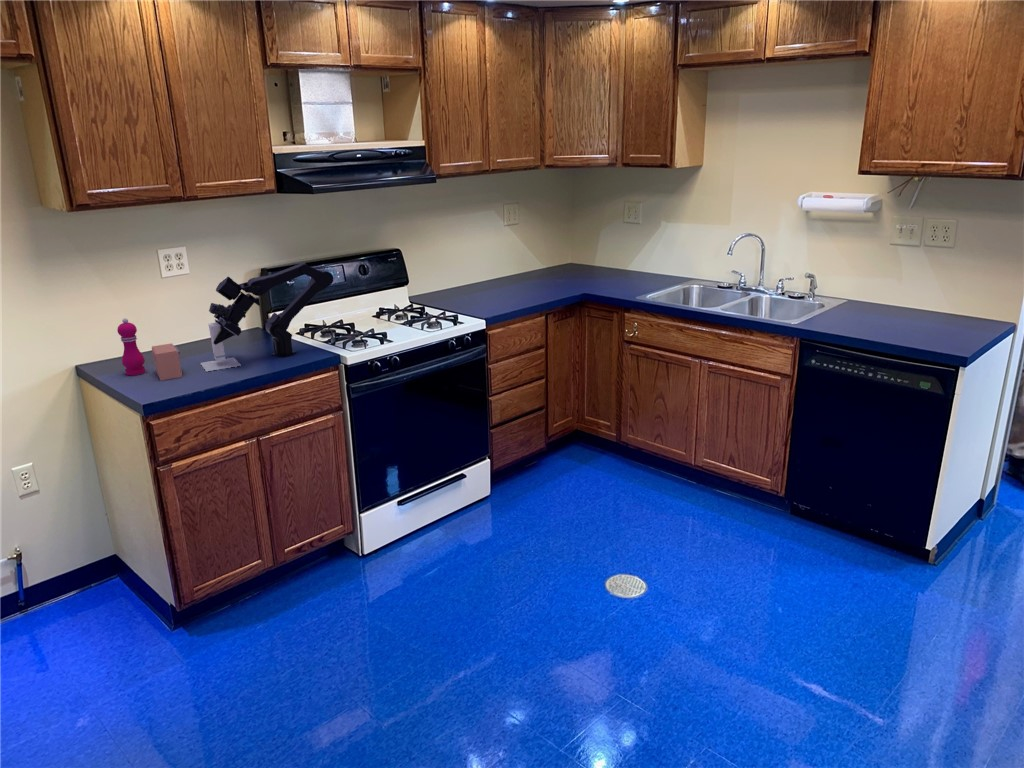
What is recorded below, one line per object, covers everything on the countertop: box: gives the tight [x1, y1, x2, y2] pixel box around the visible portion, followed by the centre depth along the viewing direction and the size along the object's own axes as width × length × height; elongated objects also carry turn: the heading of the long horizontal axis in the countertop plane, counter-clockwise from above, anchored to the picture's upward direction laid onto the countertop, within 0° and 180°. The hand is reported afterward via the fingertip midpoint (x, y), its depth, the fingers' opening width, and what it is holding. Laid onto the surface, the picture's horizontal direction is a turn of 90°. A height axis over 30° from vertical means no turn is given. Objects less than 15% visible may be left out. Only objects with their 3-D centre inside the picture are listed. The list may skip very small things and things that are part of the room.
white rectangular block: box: [208, 322, 227, 361], centre depth 265 cm, size 3×5×13 cm, turn 32°
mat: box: [199, 357, 242, 373], centre depth 268 cm, size 12×12×1 cm
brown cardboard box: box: [151, 342, 183, 381], centre depth 258 cm, size 8×12×9 cm, turn 32°
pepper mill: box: [116, 318, 146, 377], centre depth 258 cm, size 7×7×20 cm
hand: (213, 342), depth 264 cm, fingers closed on white rectangular block, 5 cm apart
